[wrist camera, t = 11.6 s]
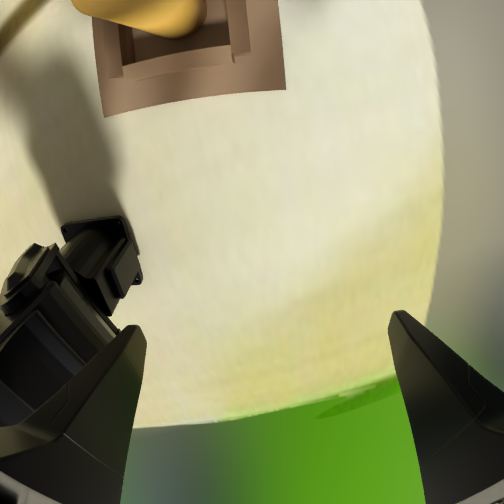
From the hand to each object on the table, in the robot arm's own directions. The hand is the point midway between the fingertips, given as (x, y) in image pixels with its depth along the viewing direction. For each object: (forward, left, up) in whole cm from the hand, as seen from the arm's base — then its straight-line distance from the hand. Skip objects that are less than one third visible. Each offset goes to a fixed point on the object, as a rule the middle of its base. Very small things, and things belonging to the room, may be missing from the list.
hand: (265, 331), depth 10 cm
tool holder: (-4, +13, -13) cm, 19 cm away
